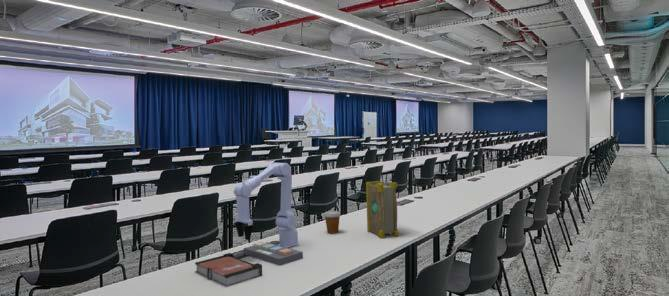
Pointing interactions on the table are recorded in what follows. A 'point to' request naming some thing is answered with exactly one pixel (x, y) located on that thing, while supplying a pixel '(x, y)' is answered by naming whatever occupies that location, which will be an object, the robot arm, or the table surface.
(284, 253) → the terracotta key
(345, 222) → the table surface
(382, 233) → the decorative book
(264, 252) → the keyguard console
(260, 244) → the sand key
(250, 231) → the robot arm
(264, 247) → the sage key
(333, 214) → the disposable coffee cup
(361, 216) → the table surface
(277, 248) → the slate key
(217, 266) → the book
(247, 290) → the table surface
